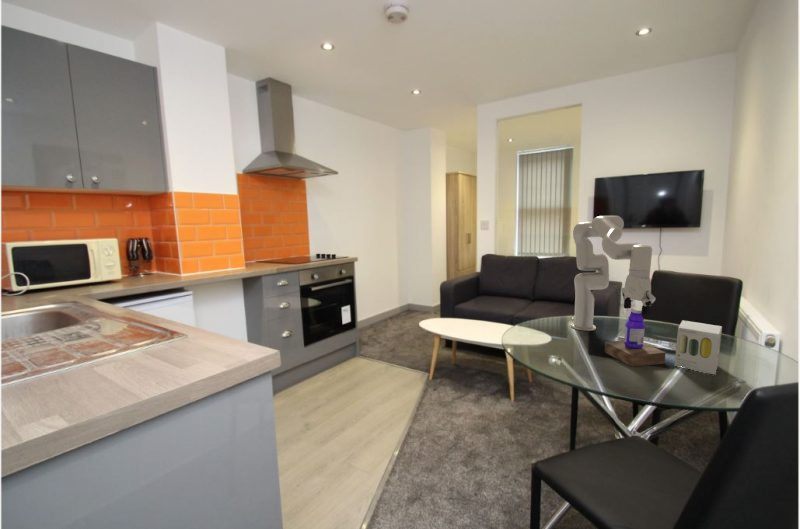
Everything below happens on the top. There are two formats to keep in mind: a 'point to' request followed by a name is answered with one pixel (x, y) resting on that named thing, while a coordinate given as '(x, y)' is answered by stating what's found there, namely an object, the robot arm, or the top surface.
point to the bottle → (634, 329)
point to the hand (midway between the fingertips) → (635, 311)
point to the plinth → (635, 354)
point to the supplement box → (698, 346)
